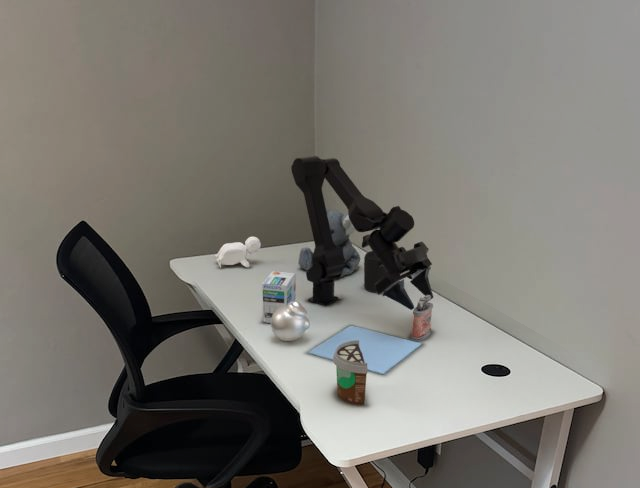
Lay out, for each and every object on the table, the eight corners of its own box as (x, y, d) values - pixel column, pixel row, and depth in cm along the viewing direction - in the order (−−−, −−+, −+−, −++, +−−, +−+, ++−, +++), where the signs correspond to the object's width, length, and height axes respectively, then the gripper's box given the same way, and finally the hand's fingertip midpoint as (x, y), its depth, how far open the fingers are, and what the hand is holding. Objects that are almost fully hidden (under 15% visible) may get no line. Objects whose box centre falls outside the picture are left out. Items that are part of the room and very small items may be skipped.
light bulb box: (287, 325, 181) (287, 285, 176) (262, 322, 182) (261, 283, 177) (296, 310, 190) (296, 272, 185) (272, 308, 191) (272, 270, 186)
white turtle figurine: (224, 278, 222) (267, 258, 222) (213, 254, 218) (257, 235, 218) (221, 270, 229) (263, 251, 230) (211, 247, 225) (253, 228, 225)
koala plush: (294, 268, 222) (294, 206, 213) (336, 258, 232) (338, 198, 224) (330, 282, 210) (332, 218, 201) (373, 271, 221) (376, 209, 212)
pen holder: (401, 288, 207) (403, 255, 202) (381, 296, 201) (383, 262, 196) (376, 280, 212) (378, 248, 208) (356, 288, 206) (357, 255, 202)
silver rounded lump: (301, 349, 167) (301, 310, 163) (265, 343, 170) (264, 305, 165) (314, 335, 175) (314, 298, 170) (279, 330, 178) (279, 293, 173)
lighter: (420, 342, 172) (423, 304, 167) (407, 339, 173) (410, 301, 169) (433, 331, 178) (437, 294, 173) (421, 328, 180) (424, 291, 175)
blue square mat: (350, 326, 180) (350, 325, 180) (421, 344, 171) (421, 343, 171) (308, 353, 165) (308, 352, 165) (382, 374, 156) (382, 373, 156)
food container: (328, 381, 153) (330, 339, 148) (356, 380, 153) (358, 339, 148) (335, 409, 142) (336, 365, 137) (365, 408, 142) (367, 364, 138)
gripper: (387, 241, 161) (425, 297, 160) (428, 225, 174) (463, 276, 173) (358, 267, 169) (394, 320, 168) (399, 250, 182) (432, 299, 181)
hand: (422, 303), depth 172 cm, fingers open, 9 cm apart
